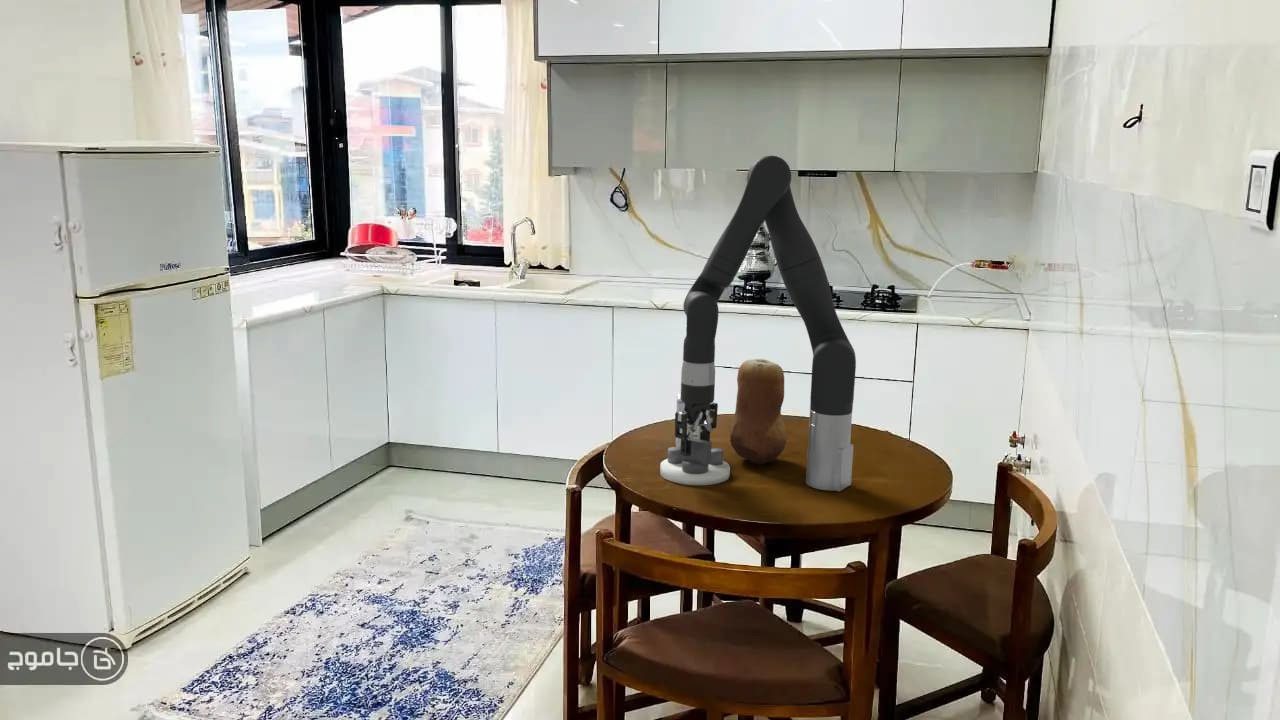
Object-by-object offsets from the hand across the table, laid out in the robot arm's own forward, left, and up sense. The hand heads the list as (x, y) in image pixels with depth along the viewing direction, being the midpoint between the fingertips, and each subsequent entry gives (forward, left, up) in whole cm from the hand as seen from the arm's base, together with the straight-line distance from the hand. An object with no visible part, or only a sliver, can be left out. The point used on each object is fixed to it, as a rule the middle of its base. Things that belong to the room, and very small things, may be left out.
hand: (695, 451), depth 214 cm
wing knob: (0, 0, -4) cm, 4 cm away
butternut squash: (-4, -21, -7) cm, 22 cm away
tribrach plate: (+2, -3, -6) cm, 7 cm away
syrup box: (+13, -16, -7) cm, 22 cm away
